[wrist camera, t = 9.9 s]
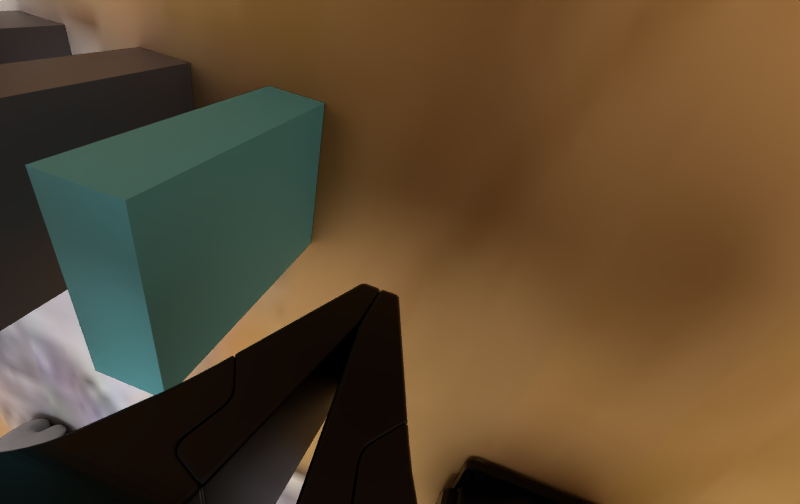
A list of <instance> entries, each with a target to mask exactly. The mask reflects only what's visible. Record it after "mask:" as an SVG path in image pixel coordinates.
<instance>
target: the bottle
mask: <svg viewBox="0 0 800 504" xmlns="http://www.w3.org/2000/svg"><path fill="white" fill-rule="evenodd" d="M49 425H50V422H49V421H48V420H46V419H35V420H31V421H29V422H26V423H24V424H22V425H20V426H19V427H17V428H15V429H13V430H12V431H10V432H9V433H7V434H6V435H4V436H2V437H1V438H0V452H3V451H9V450H15V449H20V448H24V447H29V446H32V445H36V444H40V443H43V442H46V441H49V440H52V439H55V438H58V437H61V436H62V435H63V434H64V433H65V432H66V427H64V426H63V425H55V426H51V427H49ZM48 427H49V428H48Z"/></svg>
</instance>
